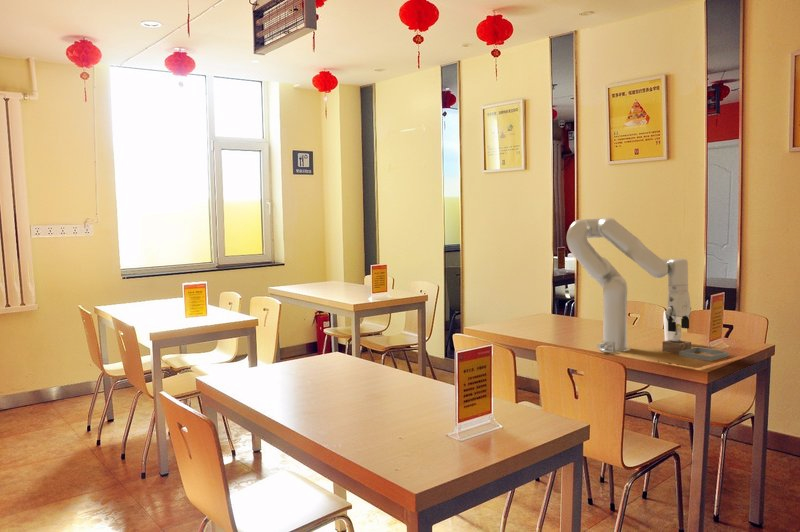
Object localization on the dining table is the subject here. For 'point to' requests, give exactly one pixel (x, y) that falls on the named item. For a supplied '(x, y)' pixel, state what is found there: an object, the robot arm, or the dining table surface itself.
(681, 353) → the tray
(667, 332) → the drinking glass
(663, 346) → the pin block
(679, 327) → the pin
